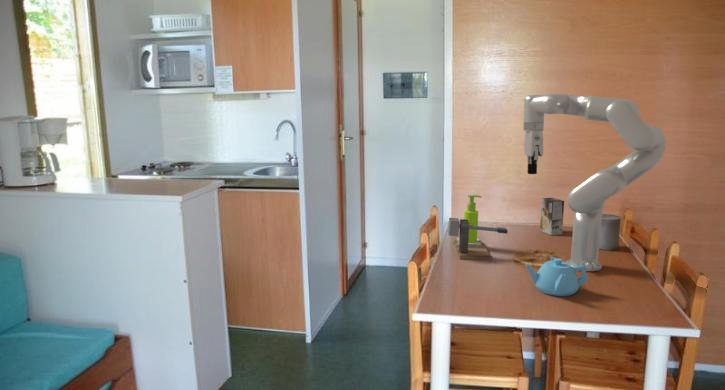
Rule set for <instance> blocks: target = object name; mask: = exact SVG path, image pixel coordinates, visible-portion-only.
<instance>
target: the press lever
mask: <svg viewBox="0 0 725 390" xmlns="http://www.w3.org/2000/svg"><path fill="white" fill-rule="evenodd" d="M460 228H461V224H460V219H459V218H457V217H449V218H448V224H447V231H446V232H447V234H448V236H450V237H459V233H460ZM469 229H473V230H477V231H484V232H485V231H487V232H495V233H499V234H506V235H508V231H509V230H508V229H507V228H506V227H499V226H496V227H491V226H481V225H478V226H472V225H469Z"/></svg>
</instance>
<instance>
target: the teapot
mask: <svg viewBox="0 0 725 390" xmlns="http://www.w3.org/2000/svg"><path fill="white" fill-rule="evenodd" d="M525 266H526V268H527V271H528V273H529V275H530V277H531V280H532V281H533V283H534V285H535V286H536V288H537V289H538V290H539V292H541V293H543V294H546V295H549V296H556V297H570V296H572V295H574V294H575V293H576V292H577V291H579V288H580V287H581V286H582V285H584V284H585V283H587V282H588V281H589V278H588V274H587V271H586V270H585V267H584V265H583V266H571V265H570V264H568V263H566V261H563V259H562V258H556V257H553V256H552V257H551V260H547V261H545V262H544V263H543V264H542V265H541V266H540V268H539V269H538V271H537V272H535V270H534V268H533V267H532V265H531V263H529V264H526V263H525ZM578 271H579V272H580V274H581V276H580V277H579V278H578V276H577V273H576V272H578Z"/></svg>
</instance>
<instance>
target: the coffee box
mask: <svg viewBox="0 0 725 390" xmlns="http://www.w3.org/2000/svg"><path fill="white" fill-rule="evenodd" d="M564 210H565V200H562V199H558V198H555V197H543V198H541V209H540V211H541V212H540V222H539V223H540V225H539V226H540V227H539V231H540V232H542V233H545V234H547V235H550V236H559V235H562V234H563V224H564V213H565V211H564Z"/></svg>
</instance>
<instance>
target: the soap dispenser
mask: <svg viewBox="0 0 725 390" xmlns="http://www.w3.org/2000/svg"><path fill="white" fill-rule="evenodd" d="M467 196H468V198H469V202H467V204H466V205H467V207H466V208H467V209H465V210H464V211H463V219H468V221H469V225H472V226H479V225H478V223H479V211H478V210H476V208H477V207H476V202H475V200H474V199H475V198H479V199H480V198H482V196H481V195H478V194H468V195H467ZM477 238H478V230H473V229H469V238H468V243H476V242H477Z"/></svg>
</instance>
